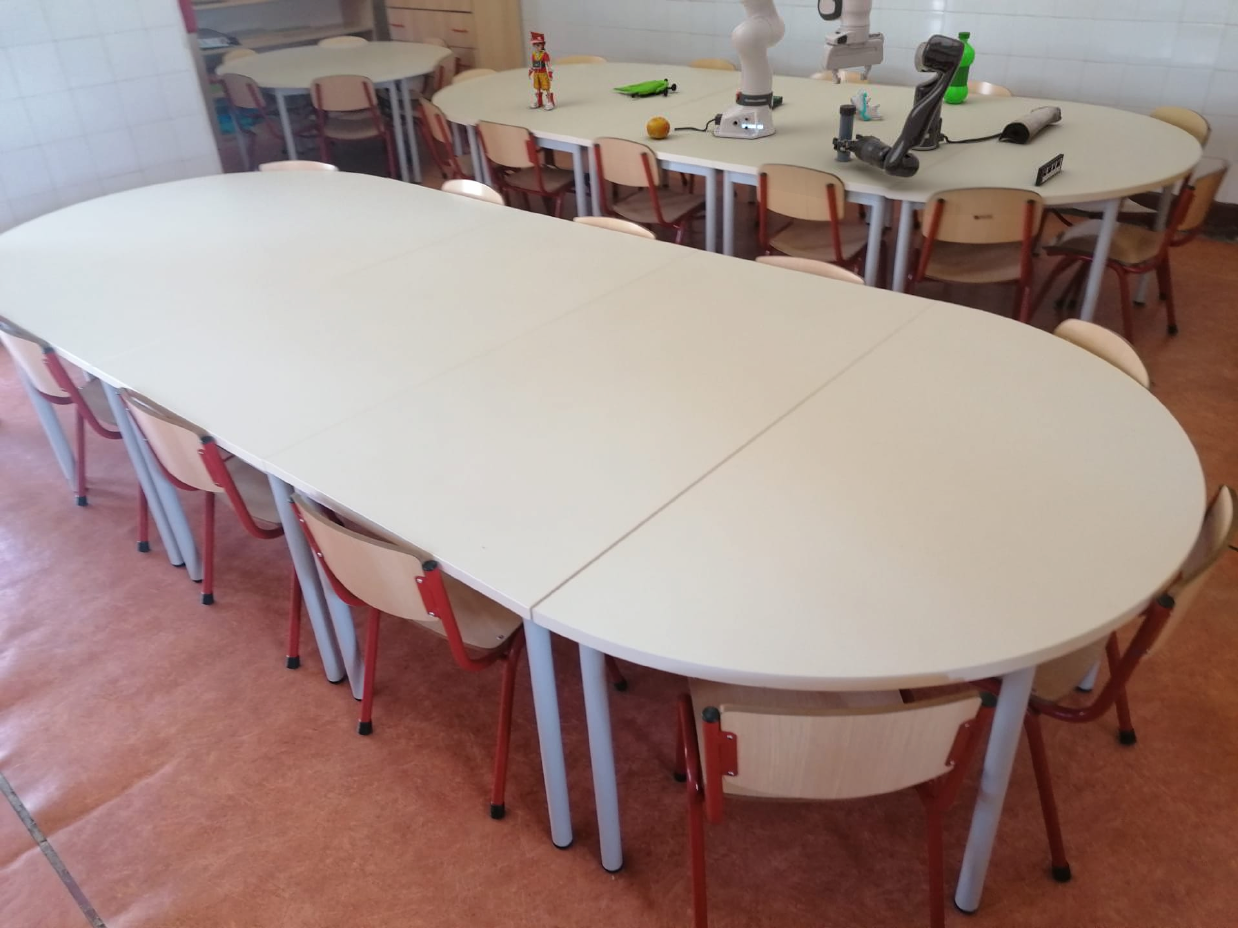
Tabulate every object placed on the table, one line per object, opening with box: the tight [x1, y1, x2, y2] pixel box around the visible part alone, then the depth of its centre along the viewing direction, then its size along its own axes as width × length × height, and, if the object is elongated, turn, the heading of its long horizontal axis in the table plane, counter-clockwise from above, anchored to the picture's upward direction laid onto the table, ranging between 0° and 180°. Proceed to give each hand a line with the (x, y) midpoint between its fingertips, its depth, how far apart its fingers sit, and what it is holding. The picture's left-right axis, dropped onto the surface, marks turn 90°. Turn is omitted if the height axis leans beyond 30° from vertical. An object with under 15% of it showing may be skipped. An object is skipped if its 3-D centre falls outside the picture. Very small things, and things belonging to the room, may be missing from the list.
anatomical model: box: [849, 89, 885, 121], centre depth 342 cm, size 15×10×10 cm
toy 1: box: [527, 31, 556, 111], centre depth 374 cm, size 12×9×30 cm
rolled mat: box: [998, 105, 1063, 144], centre depth 313 cm, size 30×9×10 cm
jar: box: [836, 113, 855, 163], centre depth 296 cm, size 4×4×17 cm
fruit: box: [646, 116, 671, 139], centre depth 333 cm, size 8×8×8 cm
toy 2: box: [612, 78, 677, 99], centre depth 396 cm, size 28×5×30 cm
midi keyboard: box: [1035, 153, 1065, 186], centre depth 273 cm, size 18×1×5 cm, turn 138°
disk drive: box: [772, 95, 784, 109], centre depth 364 cm, size 10×3×15 cm
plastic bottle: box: [943, 31, 976, 104], centre depth 348 cm, size 10×10×25 cm
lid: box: [839, 104, 857, 116], centre depth 292 cm, size 5×5×2 cm
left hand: (850, 82), depth 287 cm, fingers open, 8 cm apart
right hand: (845, 139), depth 297 cm, fingers open, 8 cm apart
